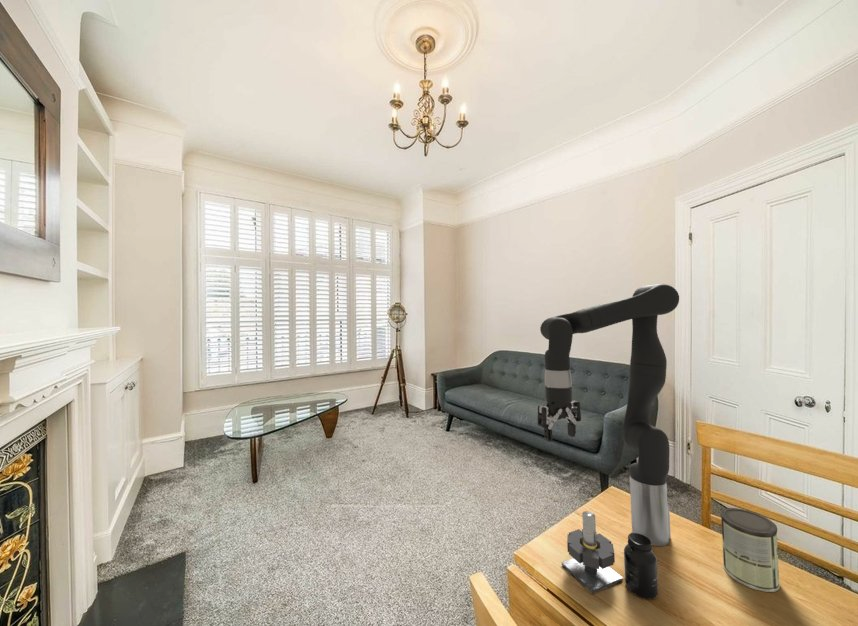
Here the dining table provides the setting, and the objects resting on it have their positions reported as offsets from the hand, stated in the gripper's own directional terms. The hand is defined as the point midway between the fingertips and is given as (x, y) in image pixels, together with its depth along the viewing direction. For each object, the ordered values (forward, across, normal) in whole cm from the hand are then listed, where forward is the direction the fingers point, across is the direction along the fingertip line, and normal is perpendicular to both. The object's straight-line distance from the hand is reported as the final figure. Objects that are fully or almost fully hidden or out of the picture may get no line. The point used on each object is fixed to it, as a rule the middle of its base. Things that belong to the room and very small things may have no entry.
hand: (560, 438), depth 99 cm
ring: (+25, +3, +12) cm, 28 cm away
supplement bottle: (+30, -4, +21) cm, 37 cm away
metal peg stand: (+30, +3, +12) cm, 33 cm away
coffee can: (+30, -32, +29) cm, 53 cm away
